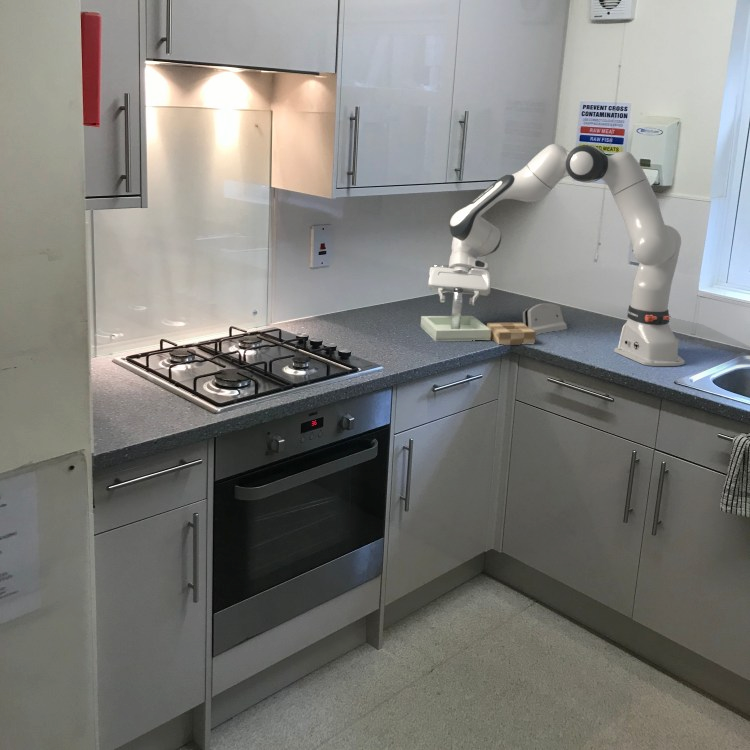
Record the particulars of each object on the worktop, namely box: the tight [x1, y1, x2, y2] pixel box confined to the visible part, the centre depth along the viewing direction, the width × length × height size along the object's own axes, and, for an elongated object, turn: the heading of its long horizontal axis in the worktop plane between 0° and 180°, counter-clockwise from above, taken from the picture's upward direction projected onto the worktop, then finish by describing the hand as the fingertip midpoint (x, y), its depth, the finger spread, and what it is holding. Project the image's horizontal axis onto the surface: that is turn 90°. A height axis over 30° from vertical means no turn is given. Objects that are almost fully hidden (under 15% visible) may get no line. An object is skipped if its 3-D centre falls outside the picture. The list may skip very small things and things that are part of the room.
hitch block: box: [486, 321, 537, 346], centre depth 286 cm, size 12×12×4 cm
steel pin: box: [451, 287, 464, 329], centre depth 288 cm, size 3×3×14 cm
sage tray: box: [420, 315, 491, 342], centre depth 290 cm, size 18×18×4 cm
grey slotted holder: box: [522, 302, 568, 334], centre depth 300 cm, size 17×5×10 cm, turn 128°
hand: (456, 302), depth 287 cm, fingers open, 8 cm apart
